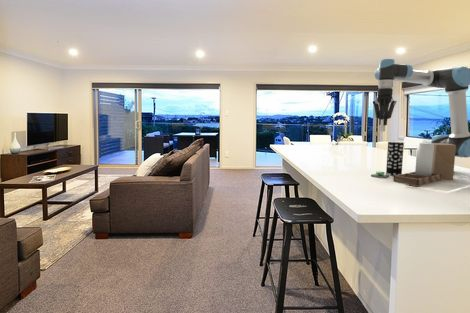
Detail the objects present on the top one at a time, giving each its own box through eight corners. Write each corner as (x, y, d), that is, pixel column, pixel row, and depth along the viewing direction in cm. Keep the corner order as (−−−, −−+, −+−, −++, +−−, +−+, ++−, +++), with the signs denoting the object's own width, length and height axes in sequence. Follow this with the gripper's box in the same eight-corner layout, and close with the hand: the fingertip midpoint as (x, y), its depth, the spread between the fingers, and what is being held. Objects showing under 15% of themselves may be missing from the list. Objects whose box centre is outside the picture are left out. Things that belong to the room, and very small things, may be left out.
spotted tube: (400, 175, 209) (402, 142, 207) (402, 178, 201) (404, 143, 199) (385, 174, 212) (387, 141, 209) (386, 177, 204) (388, 142, 201)
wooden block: (453, 181, 193) (456, 145, 190) (433, 180, 195) (436, 144, 192) (446, 178, 202) (449, 143, 200) (427, 177, 204) (429, 142, 202)
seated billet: (419, 177, 198) (421, 142, 196) (433, 180, 192) (436, 143, 189) (412, 179, 193) (414, 143, 191) (427, 181, 187) (430, 144, 184)
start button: (378, 176, 202) (378, 171, 202) (385, 177, 199) (386, 172, 199) (374, 177, 200) (374, 171, 199) (381, 178, 196) (381, 172, 196)
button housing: (377, 176, 204) (377, 173, 204) (389, 178, 199) (389, 175, 199) (370, 178, 200) (371, 174, 200) (382, 180, 195) (382, 176, 194)
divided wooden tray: (416, 178, 202) (417, 171, 201) (440, 181, 191) (441, 174, 191) (393, 183, 186) (393, 175, 186) (418, 187, 176) (418, 179, 176)
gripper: (370, 88, 196) (368, 130, 199) (393, 87, 186) (390, 132, 189) (378, 89, 201) (375, 130, 203) (400, 88, 190) (397, 131, 193)
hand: (382, 131), depth 196 cm, fingers closed
